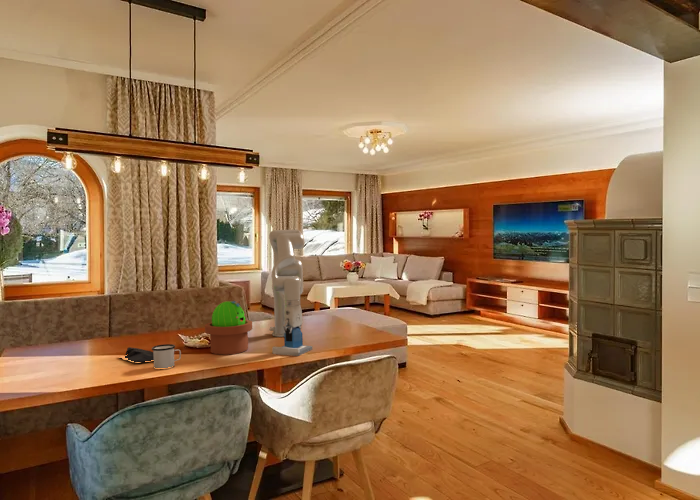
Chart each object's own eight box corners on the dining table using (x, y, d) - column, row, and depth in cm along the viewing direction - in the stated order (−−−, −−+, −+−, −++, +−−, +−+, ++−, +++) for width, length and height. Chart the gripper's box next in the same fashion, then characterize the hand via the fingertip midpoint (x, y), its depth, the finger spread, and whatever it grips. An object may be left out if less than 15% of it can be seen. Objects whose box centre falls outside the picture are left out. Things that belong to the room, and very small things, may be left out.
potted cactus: (196, 354, 226) (195, 302, 226) (224, 344, 247) (223, 296, 246) (235, 357, 218) (233, 303, 217) (260, 347, 239) (259, 297, 238)
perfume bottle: (292, 348, 224) (292, 323, 224) (284, 346, 228) (283, 321, 228) (302, 345, 229) (302, 321, 228) (294, 344, 233) (293, 319, 233)
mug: (156, 371, 198) (155, 350, 197) (149, 367, 205) (148, 346, 205) (184, 366, 205) (184, 345, 205) (177, 362, 213) (176, 342, 212)
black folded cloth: (131, 367, 207) (131, 356, 207) (116, 358, 224) (116, 348, 223) (166, 361, 217) (166, 350, 217) (150, 352, 234) (149, 343, 234)
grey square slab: (272, 353, 224) (272, 347, 224) (287, 347, 237) (287, 340, 237) (298, 356, 218) (298, 349, 218) (312, 349, 231) (312, 342, 231)
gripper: (290, 306, 219) (291, 343, 219) (307, 300, 235) (308, 336, 235) (276, 305, 221) (277, 342, 222) (294, 300, 237) (295, 335, 238)
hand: (293, 339), depth 229 cm, fingers closed on perfume bottle, 7 cm apart
